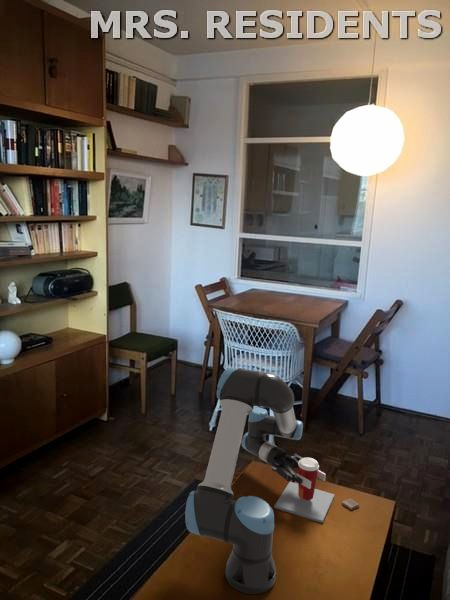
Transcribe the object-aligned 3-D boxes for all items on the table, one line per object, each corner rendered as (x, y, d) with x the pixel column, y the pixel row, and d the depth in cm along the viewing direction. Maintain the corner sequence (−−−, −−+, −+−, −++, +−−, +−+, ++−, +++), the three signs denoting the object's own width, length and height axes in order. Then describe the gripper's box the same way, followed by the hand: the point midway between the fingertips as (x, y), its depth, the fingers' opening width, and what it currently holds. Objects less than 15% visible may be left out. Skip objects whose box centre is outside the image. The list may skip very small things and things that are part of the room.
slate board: (322, 523, 173) (322, 520, 173) (274, 507, 180) (274, 505, 180) (334, 496, 189) (334, 494, 189) (289, 483, 196) (289, 481, 196)
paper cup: (319, 494, 185) (322, 461, 182) (311, 504, 179) (314, 469, 176) (300, 487, 189) (303, 454, 186) (291, 496, 183) (294, 462, 180)
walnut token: (350, 511, 181) (351, 507, 181) (341, 505, 185) (342, 501, 184) (359, 507, 184) (359, 504, 183) (349, 501, 187) (350, 497, 187)
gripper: (289, 455, 203) (334, 481, 186) (253, 471, 190) (298, 500, 173) (290, 439, 201) (335, 463, 185) (254, 454, 188) (300, 481, 171)
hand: (317, 481), depth 179 cm, fingers closed on paper cup, 8 cm apart
